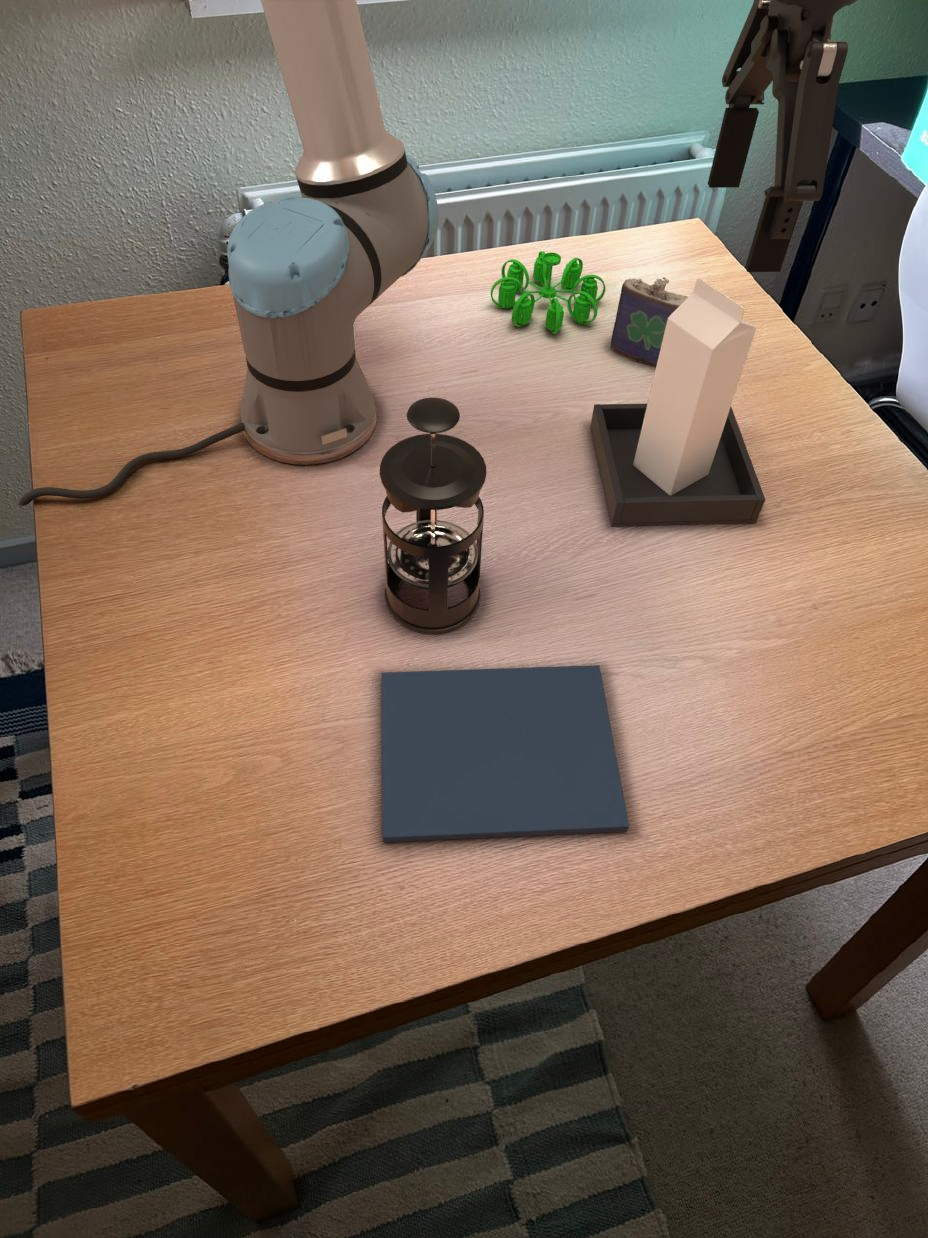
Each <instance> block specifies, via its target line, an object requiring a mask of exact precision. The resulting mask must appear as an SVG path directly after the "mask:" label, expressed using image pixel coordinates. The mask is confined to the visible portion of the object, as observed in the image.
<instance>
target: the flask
mask: <svg viewBox="0 0 928 1238" xmlns="http://www.w3.org/2000/svg"><path fill="white" fill-rule="evenodd" d="M669 282H670V280H669V279H668V278H666V276H664V277H663V276H662V279H661V278H656V279H655V280H654V282H653V284H651V285H650V284H648V283H647V282H644V281H643V280H642V278H638V279H637V278H627V279H625V280H624V282H623V283H622V285H621V290H620V295H619V299H618V304H617V310H616V314H615V321H614V324H613V329H612V334H611V341H610V349H611V351H612V352H613V353H616V354H617V355H620V356H622V357H624V358H626V359H629V360H631V361H636V362H637V363H642V364H644V365H648V366H650V367H655V368H656V366H657V362H658V358H659V354H660V349H661V345H662V341H663V337H664V333H665V328H666V324H667V320H668V317H669V316H670V315H671V314H672V313H673V312H674V311H675V310H676V309H677V308H678V307H679V306H680V305H681V304H682V303H683V302H684V301H685V300H686V299H687V298H688V297H689V296H687V295H683V294H678V293H675V292H671V291H667V290H666V286H667V284H669Z"/></svg>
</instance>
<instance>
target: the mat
mask: <svg viewBox="0 0 928 1238" xmlns="http://www.w3.org/2000/svg"><path fill="white" fill-rule="evenodd" d="M601 672H602V671H601V667H600V665H599V664H595V665H594V664H593V665H591V664H590V665H565V666H564V665H563V666H538V667H537V666H536V667H534V666H533V667H511V668H510V667H505V668H504V667H503V668H482V669H481V668H479V669H477V668H476V669H449V670H447V669H446V670H420V671H419V670H418V671H391V672H390V671H389V672H387V671H386V672H381V767H382V768H381V769H382V771H381V775H382V777H381V778H382V779H381V780H382V781H381V783H382V785H381V787H382V791H381V792H382V842H383V843H400V842H401V843H403V842H405V843H406V842H422V841H423V842H424V841H425V842H426V841H427V842H428V841H448V840H469V839H489V838H492V839H493V838H510V837H511V838H512V837H515V838H516V837H533V836H535V837H536V836H553V835H554V836H555V835H576V834H577V835H578V834H598V833H603V834H604V833H621V832H622V833H623V832H628V830H629V827H630V825H629V819H628V813H627V807H626V802H625V798H624V796H625V795H624V792H623V786H622V781H621V774H620V770H619V765H618V758H617V753H616V748H615V743H614V737H613V732H612V725H611V722H610V715H609V710H608V705H607V700H606V694H605V689H604V684H603V678H602V673H601Z"/></svg>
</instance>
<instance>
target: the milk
mask: <svg viewBox="0 0 928 1238" xmlns="http://www.w3.org/2000/svg"><path fill="white" fill-rule="evenodd" d="M744 314H745V308H744V306H743V305H741V304H740V303H738V302H736V300H734V299H732V298H731V297H729V296H728V295H726V294H725V293H724V292H722V291H720V290H718V289H717V288H715V287H714V286H712V285H711V284H709V283H707V282H706V281H704V280H703V279H701V278H697V279H696V281H695V284H694V287H693V291H692V293H691V294H690V295H689V296H688V298H687V299H686V300H685V301H684V302H683V303H682V304H681V305H680V306H679V307H678V308H677V309H676V310H675V311H674V312H673V313H672V314H671V315H670V316H669V317H668V320H667V324H666V328H665V333H664V337H663V341H662V345H661V349H660V354H659V358H658V362H657V366H656V367H655V371H654V374H653V380H652V383H651V388H650V392H649V396H648V400H647V403H646V404H647V408H646V413H645V417H644V421H643V425H642V429H641V434H640V438H639V442H638V446H637V450H636V455H635V459H634V463H633V466H634V467H636V468H637V469H638V470H639V471H640V472H642V473H643V474H644V475H645V476H647V477H648V478H649V479H650V480H651V481H653V482H654V483H655V484H656V485H657V486H659V487H660V488H661V489H662V490H664V491H665V492H666V493H667V494H668V495H670V496H672V495H673V494H675V493H677V492H679V491H680V490H682V489H684V488H686V487H687V486H689V485H691V484H693V483H694V482H696V481H698V480H700V479H701V478H703V477H705V476H707V475H708V474H709V471H710V468H711V465H712V462H713V459H714V456H715V453H716V450H717V447H718V444H719V441H720V438H721V435H722V432H723V429H724V426H725V423H726V419H727V416H728V413H729V410H730V407H732V404H733V401H734V398H735V395H736V392H737V389H738V386H739V383H740V380H741V376H742V373H743V371H744V368H745V365H746V361H747V358H748V356H749V352H750V350H751V347H752V343H753V340H754V337H755V334H756V331H757V327H756V326H755V325H754V324H752V323H751V322H749V321H747V320H746V319H744V318H743V316H744Z"/></svg>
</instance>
